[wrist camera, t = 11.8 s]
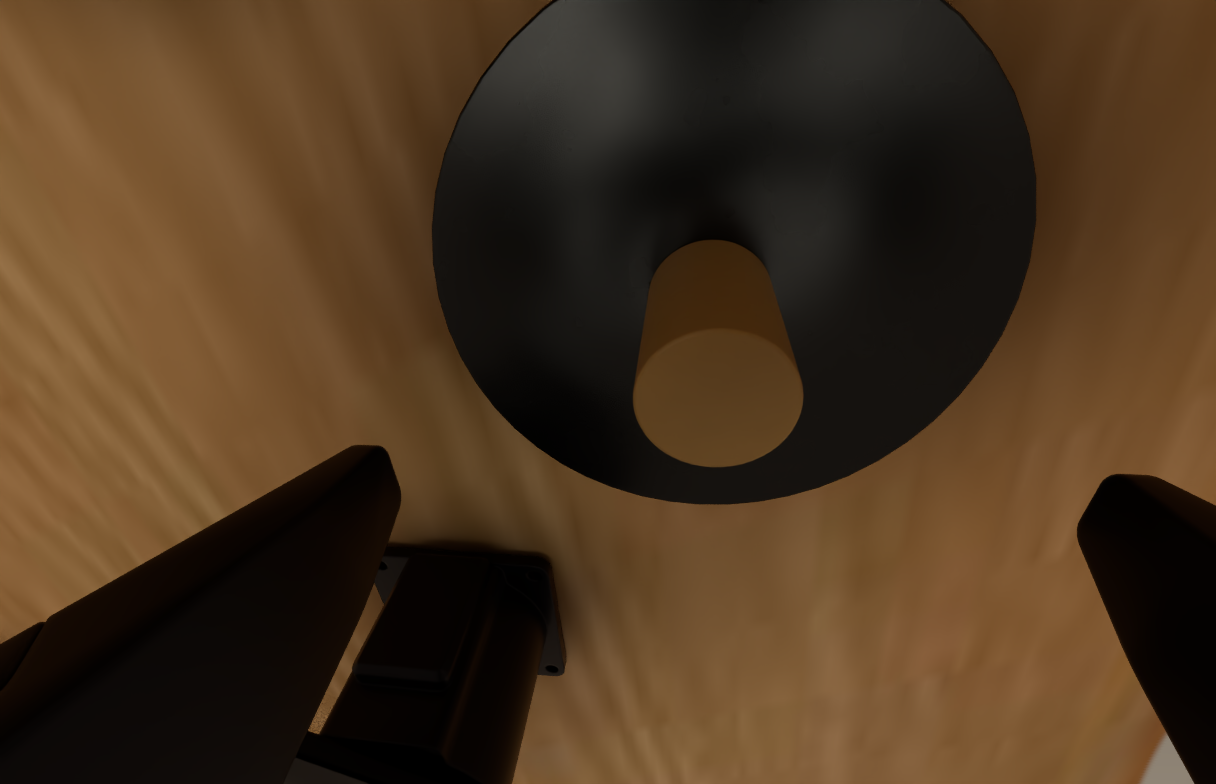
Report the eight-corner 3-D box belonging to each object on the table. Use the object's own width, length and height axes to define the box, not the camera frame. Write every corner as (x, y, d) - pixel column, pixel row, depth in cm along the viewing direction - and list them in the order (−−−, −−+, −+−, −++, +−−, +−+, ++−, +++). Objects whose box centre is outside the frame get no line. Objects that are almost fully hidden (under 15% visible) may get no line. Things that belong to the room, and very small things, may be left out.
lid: (921, 488, 15) (1009, 664, 11) (495, 468, 17) (430, 616, 13) (1124, -93, 9) (1529, -199, 4) (387, -34, 10) (176, -73, 6)
